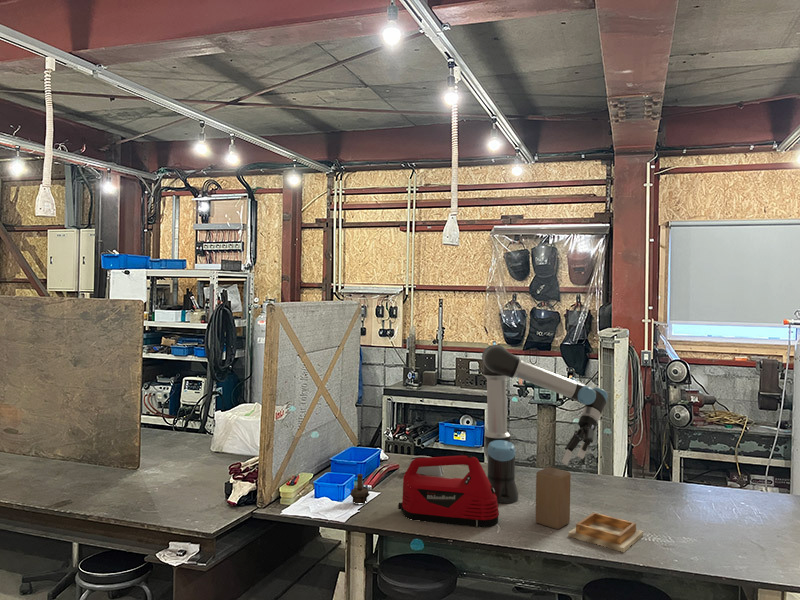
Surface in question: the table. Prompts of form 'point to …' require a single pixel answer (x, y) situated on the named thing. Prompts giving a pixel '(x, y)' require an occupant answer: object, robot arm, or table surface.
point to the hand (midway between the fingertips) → (571, 460)
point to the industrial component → (359, 491)
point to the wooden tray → (606, 532)
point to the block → (553, 497)
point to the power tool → (449, 494)
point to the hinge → (428, 468)
